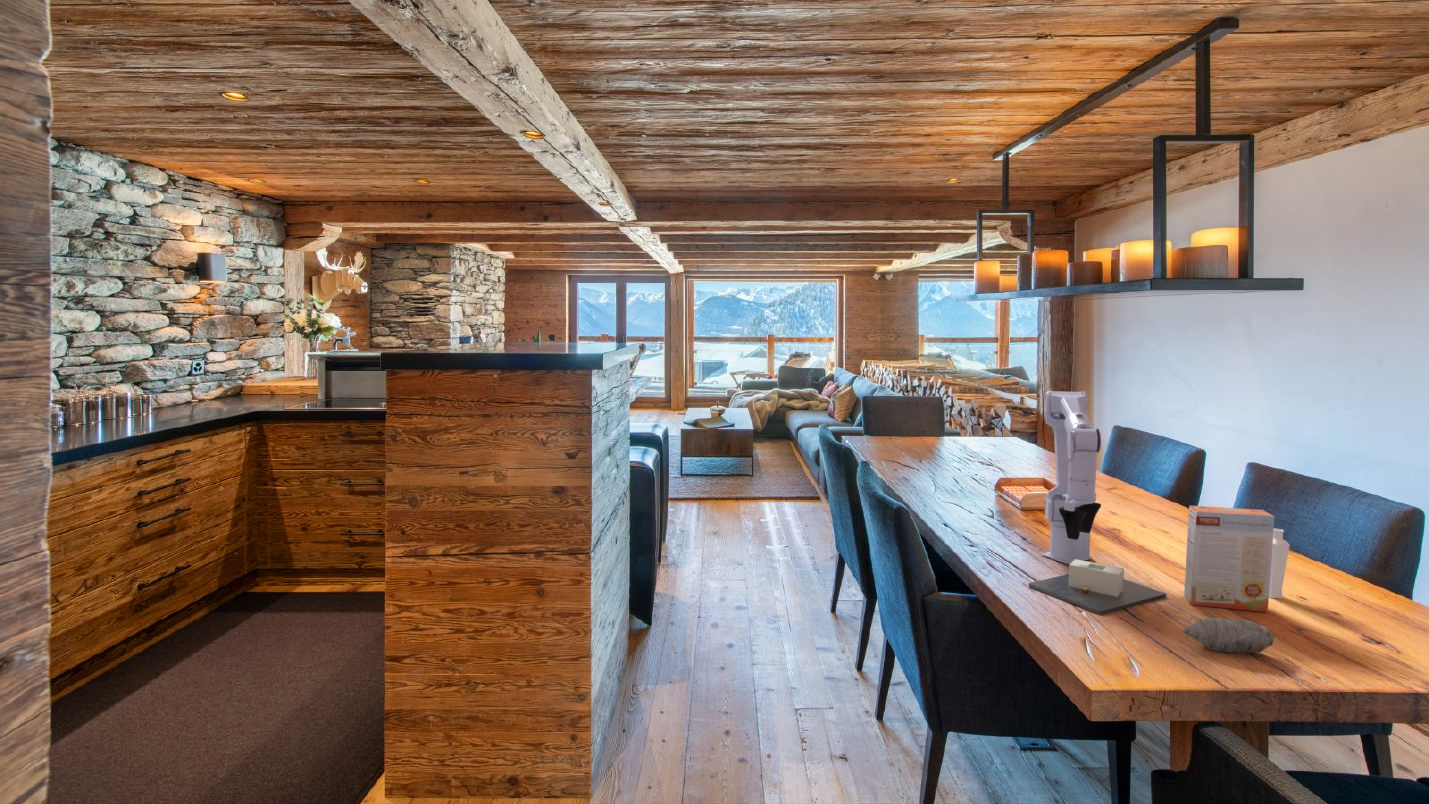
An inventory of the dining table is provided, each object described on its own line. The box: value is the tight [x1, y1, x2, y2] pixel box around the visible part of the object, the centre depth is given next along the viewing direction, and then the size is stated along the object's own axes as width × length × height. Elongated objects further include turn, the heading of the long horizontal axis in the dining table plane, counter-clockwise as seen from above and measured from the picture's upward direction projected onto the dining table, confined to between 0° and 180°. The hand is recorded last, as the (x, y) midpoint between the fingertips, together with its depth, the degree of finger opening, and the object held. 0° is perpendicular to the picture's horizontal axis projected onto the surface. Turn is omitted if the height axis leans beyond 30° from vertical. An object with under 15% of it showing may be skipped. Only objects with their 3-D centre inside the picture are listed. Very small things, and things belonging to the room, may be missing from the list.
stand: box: [1028, 573, 1167, 616], centre depth 160 cm, size 22×18×5 cm
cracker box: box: [1183, 505, 1275, 613], centre depth 152 cm, size 14×6×21 cm, turn 71°
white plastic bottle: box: [1269, 527, 1291, 599], centre depth 157 cm, size 5×4×15 cm
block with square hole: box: [1068, 559, 1125, 597], centre depth 160 cm, size 10×5×5 cm, turn 49°
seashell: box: [1181, 617, 1275, 654], centre depth 131 cm, size 6×14×8 cm, turn 75°
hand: (1078, 535), depth 168 cm, fingers open, 7 cm apart
